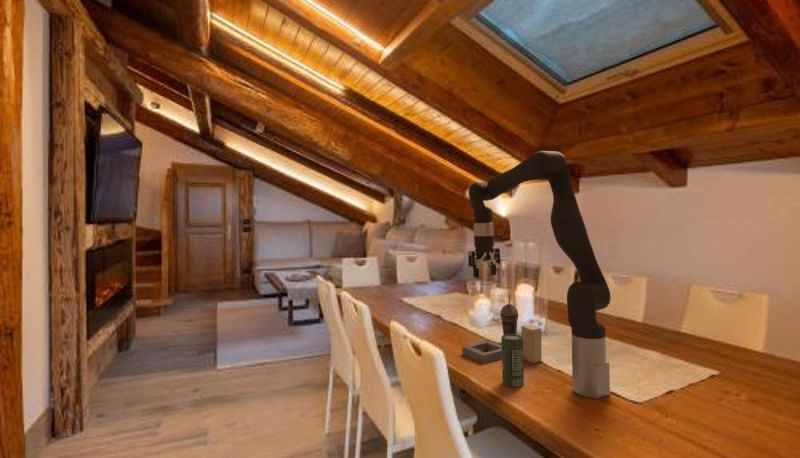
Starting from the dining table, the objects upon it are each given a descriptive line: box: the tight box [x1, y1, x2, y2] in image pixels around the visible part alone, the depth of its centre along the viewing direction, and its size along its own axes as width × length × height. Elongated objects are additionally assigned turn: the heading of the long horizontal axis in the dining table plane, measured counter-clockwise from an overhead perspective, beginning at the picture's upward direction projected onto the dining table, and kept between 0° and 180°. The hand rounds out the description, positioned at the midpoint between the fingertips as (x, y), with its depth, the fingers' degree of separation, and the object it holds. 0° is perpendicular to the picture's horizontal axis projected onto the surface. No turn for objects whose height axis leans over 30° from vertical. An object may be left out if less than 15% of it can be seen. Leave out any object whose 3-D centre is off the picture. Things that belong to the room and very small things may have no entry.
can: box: [500, 334, 525, 389], centre depth 133 cm, size 6×6×15 cm
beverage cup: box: [499, 294, 519, 335], centre depth 173 cm, size 7×7×20 cm
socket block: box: [462, 340, 502, 365], centre depth 159 cm, size 12×13×3 cm
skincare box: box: [520, 323, 542, 364], centre depth 153 cm, size 6×4×12 cm
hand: (485, 276), depth 163 cm, fingers open, 8 cm apart
